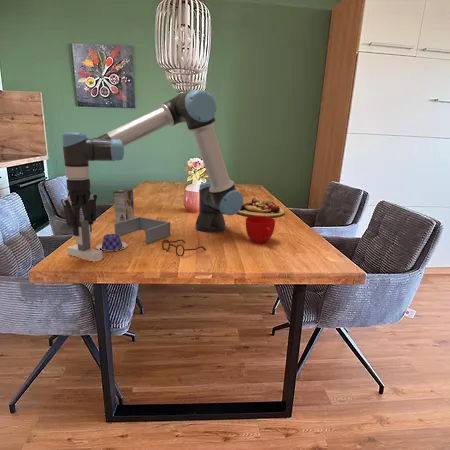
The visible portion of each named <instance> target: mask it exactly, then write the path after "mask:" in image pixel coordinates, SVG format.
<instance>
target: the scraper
mask: <svg viewBox="0 0 450 450" xmlns="http://www.w3.org/2000/svg"><path fill="white" fill-rule="evenodd" d="M79 227H81V230H82V241H83V244H82V245H79V244H76V243H75V244H73V245H70V246H67V247H66V252H67V255H68V254H69V255H68V256H70V255H72V256H71V257H73V256H76V257H75V258H77V257H80V258H84V259H87V260H91V261H96V260H99V259H102V258H103V257H104V255H103V251H101V250H98V249H94V248H92V247H91V242H90V236H89V224H88V220H85V219H84V218H82V219H81V218H80V219H79ZM80 258H79V259H80ZM103 259H104V258H103ZM103 259H102V260H103ZM87 260H86V261H87ZM99 261H100V260H99Z"/></svg>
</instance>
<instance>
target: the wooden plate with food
mask: <svg viewBox="0 0 450 450" xmlns="http://www.w3.org/2000/svg"><path fill="white" fill-rule="evenodd" d="M236 214H238V215H240V216H245V217H252V216H264V217H269V218H273V219H275V218H280V217H283V216H284V215H285V210H284V209H283V208H281V207H280V205H277V204H276V203H274V202H273V201H272V200H271V199H269V198H265V199H264V200H262V202H261V201H260V199H259V198H258V197H257V196H254V197H253V198H252V199H251V202H248V201H243V205H242V206H241V209H240V210H239V212H237V213H236Z"/></svg>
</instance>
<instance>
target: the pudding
mask: <svg viewBox="0 0 450 450" xmlns="http://www.w3.org/2000/svg"><path fill="white" fill-rule="evenodd" d="M101 245H102V247H101V249H102V250H103V249H105V250H106V251H107V250H109V251H113V250H115V251H118V249H120V248H122V245H124V246H125V247H124V248H122V249H120V250H119V251H121V250H124V249H126V248H127V247H128V243H127V242H124V241H122V240H121V236H119V235H117V234H115V233H107V234H106V235H104V236H103V238H102V242H101V243H99V244H98V245H97V246H95V248H96V250H99V251H102V250H100V249H99V247H100V246H101ZM116 249H117V250H116ZM115 251H114V252H115ZM102 252H103V251H102Z"/></svg>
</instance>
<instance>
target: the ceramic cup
mask: <svg viewBox="0 0 450 450" xmlns="http://www.w3.org/2000/svg"><path fill="white" fill-rule="evenodd" d="M275 225H276V219H275V218H269V217H264V216H252V217H248V216H246V218H245V230H246V234H247V236H248V238H249V239H250V240H251V242H253V244H254V243H256V244H265V243H267V242H268V241H269V240H270V239H271V237H272V236H273V234H274V231H275Z"/></svg>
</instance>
